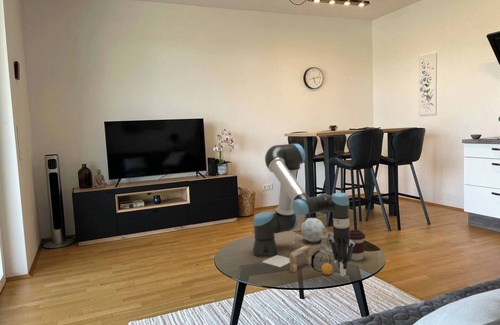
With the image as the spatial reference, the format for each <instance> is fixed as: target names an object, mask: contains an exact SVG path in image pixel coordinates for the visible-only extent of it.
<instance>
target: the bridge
mask: <svg viewBox="0 0 500 325" xmlns="http://www.w3.org/2000/svg"><path fill="white" fill-rule="evenodd" d="M311 251H312V249H311V246H310V245H304V246H302V247H300V248H298V249H295V250H293V251H291V252H289V253H288V256H289V257H288V258H289V261H290V263H289V271H290V272H292V273H296V272H298V264H297V263H298V262H297V256H299V255H301V254H303V259H304V260H303V261H304V265H308V266H309V265H312V252H311Z"/></svg>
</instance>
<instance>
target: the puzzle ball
mask: <svg viewBox="0 0 500 325" xmlns="http://www.w3.org/2000/svg"><path fill="white" fill-rule="evenodd" d="M323 228H325V225H324V223H323V222H322V221H321V220H320V219H318V218H316V217H310V218H309V217H308V218H307V219H305V220H304V221H303V222H302V224H301V226H300V234H301V236H302V238H303V239H304V240H306V241H308V242H310V243H317V242H319V241H321V234H322V231H323ZM325 229H326V228H325Z"/></svg>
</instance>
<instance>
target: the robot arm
mask: <svg viewBox="0 0 500 325" xmlns="http://www.w3.org/2000/svg"><path fill="white" fill-rule="evenodd" d="M305 161H306V151H305V149H304V148H303V146H302V145H300V144H299V143H288V144H287V143H286V144H285V143H284V144H275V145H272V146H271V147H270V148H269V149H268V150H267V151H266V153H265V155H264V162H265V166H266V167H267V169H268V170H269V172H271V173H273V175H274V176H275V177H276V179H277V181H278V182H279V184H280V185H279V186H280V187H279V196H278V206H277V207H276V208H275V211H274V213H273V212H272V211H261V212H259V213H256V214H255V215H254V216H253V230H254V233H253V234H254V242H253V247H252V254H254V255H253V256H255V255H256V256H255V257H257V258H258V257H260V258H269V257H270V258H271V257H274V256H276V255H279V247H278V244H277V242H276V240H275V239H276V238H275V234H280V233H284V232H290V231H294V230H295V229H297V226H298V225H299V216H306V215H308V214H309V215H310V214H314V213H320V212H329V213H330V212H331V213H332V226H333V227H332V231H333V232H332V233H333V234H334V236H333V238H331V239H329V242H330V244H331V247H332V251H333V255H334V257H333V259H334V260H336V261H337V265H338V268H339V276H340V277H344V276H346V275H347V269H348V263H349V262H351V261H352V260H351V257H352V252H353V247H354V246H355V242H352V241H351V239H350V230H351V229H350V228H351V227H350V223H351V222H350V200H349V194H347V193H345V192H335V193H332V194H331V195H330V194H327V193H319V194H317V196H311V197H310V196H308V194H307V193H306V191H305V190H304V189H303V187H302V185H300V183H299V182H298V181H297V173H298V171H299V170H301V169H300V168H301V165H302V164H304V162H305ZM335 242H336V243H335ZM348 243H349V248H348ZM336 244H337V246H336Z"/></svg>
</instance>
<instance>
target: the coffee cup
mask: <svg viewBox="0 0 500 325" xmlns="http://www.w3.org/2000/svg"><path fill="white" fill-rule="evenodd" d="M365 238H366V234H365V233H364V232H363V231H362V230H359V229H350V239H351V241H352V242H355V246H354V247H353V252H352V257H351V261H355V262H358V261H362V260H364V252H365ZM348 248H349V243H348V245H347V249H348Z"/></svg>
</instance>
